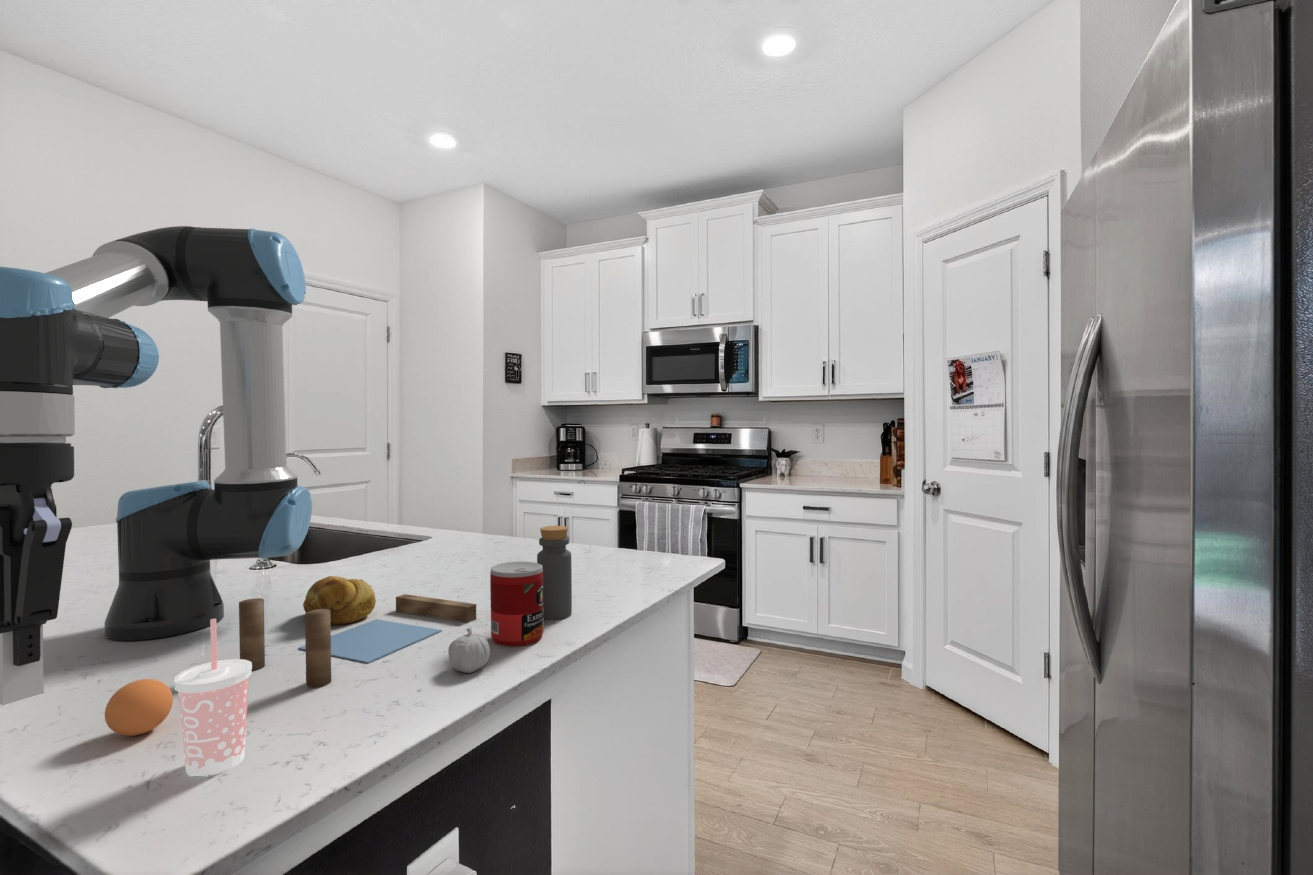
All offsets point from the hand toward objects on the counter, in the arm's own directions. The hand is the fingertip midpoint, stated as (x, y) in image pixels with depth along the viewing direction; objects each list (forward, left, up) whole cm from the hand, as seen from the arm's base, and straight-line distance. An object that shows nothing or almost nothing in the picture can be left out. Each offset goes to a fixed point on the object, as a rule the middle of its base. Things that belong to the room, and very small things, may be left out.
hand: (19, 697), depth 55 cm
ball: (0, +9, -5) cm, 11 cm away
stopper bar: (0, +52, -8) cm, 53 cm away
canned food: (+20, +48, -8) cm, 53 cm away
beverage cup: (+14, +9, -8) cm, 18 cm away
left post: (-7, +25, -8) cm, 27 cm away
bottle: (+19, +60, -8) cm, 64 cm away
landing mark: (0, +39, -8) cm, 40 cm away
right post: (+6, +25, -8) cm, 27 cm away
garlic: (+21, +36, -8) cm, 43 cm away
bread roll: (-15, +45, -8) cm, 48 cm away
